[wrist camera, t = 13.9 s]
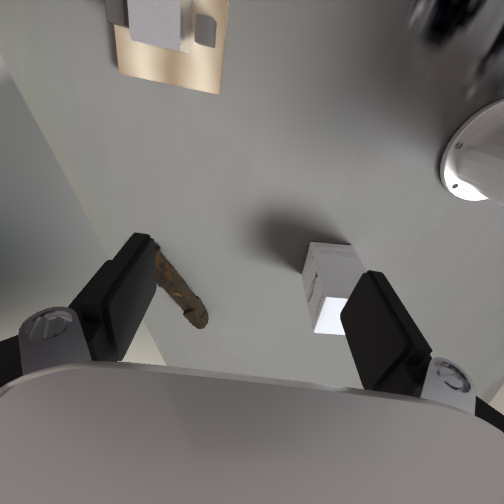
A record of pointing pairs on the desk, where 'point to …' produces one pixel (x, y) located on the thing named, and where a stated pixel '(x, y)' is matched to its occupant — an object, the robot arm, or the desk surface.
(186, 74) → the board
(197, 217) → the desk surface
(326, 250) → the supplement box
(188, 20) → the light grey long block
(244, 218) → the desk surface
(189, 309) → the hand tool
